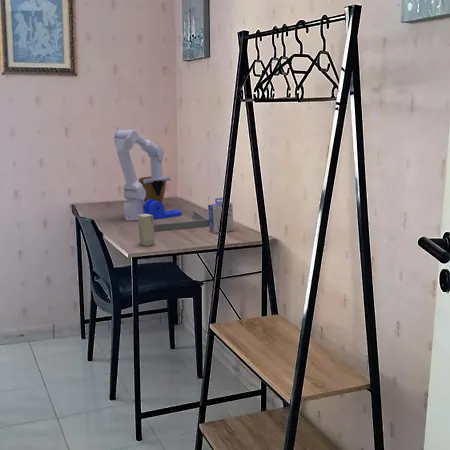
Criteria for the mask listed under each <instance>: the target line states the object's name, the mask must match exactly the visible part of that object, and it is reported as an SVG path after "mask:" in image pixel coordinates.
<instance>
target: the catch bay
mask: <svg viewBox="0 0 450 450" xmlns="http://www.w3.org/2000/svg"><path fill="white" fill-rule="evenodd" d="M192 213H193V216H192V217H193V218H194V219H196V220H188V221H187V220H186V221H178V222H167V223H157V224H155V223H154V233H157V232H163V231H164V232H165V231H176V230H186V229H194V228H205V227H206V228H208V227H209V217H207V216H205V215H203V214H202V213H200V212H198V211H197V210H195V209H194V210H193V212H192Z"/></svg>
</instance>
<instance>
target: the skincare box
mask: <svg viewBox="0 0 450 450" xmlns="http://www.w3.org/2000/svg"><path fill="white" fill-rule="evenodd" d="M137 216H138V220H137V226H138V227H137V228H138V237H139V238H138V239H139V244H140V245H142V246H145V247H147V246H152V245H156V240H155V232H154V225H155V223H154V220H153V215H150V214H140V215H137Z"/></svg>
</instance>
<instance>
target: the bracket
mask: <svg viewBox="0 0 450 450" xmlns="http://www.w3.org/2000/svg"><path fill="white" fill-rule="evenodd" d="M143 213H144V214H150V215H153V221H154V220H155V221H156V220H161V219H163V220H164V219H168V218H169V219H170V218H176V217H181V216H182V215H183V213H182V210H178V209H170V210H165V206H164V204H163V202H162V203H161V202H159V201H155V200H152V199H149V200H147V201H146V202H144V203H143Z"/></svg>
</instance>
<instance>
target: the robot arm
mask: <svg viewBox="0 0 450 450" xmlns="http://www.w3.org/2000/svg"><path fill="white" fill-rule="evenodd" d="M113 142H114V144H115V148H116V149H115V150H116V153H117V157H118V160H119V163H120V166H121V170H122V173H123V177H124V181H125V184H124V185H123V197H124V198H125V200H126V201H123V215H124V218H123V219H125V221H126V222H128V221H138V216H137V215H140V214H144V199H145V197H146V191H145V189H144V188H143V185H142V184H141V183H140V182H139V180H138V179H137V174H136V172H135V171H136V170H135V168H134V164H133V160H132V158H131V155H130V151H131V150H132V149H133V148H134V145H138V146H140V149H141V150H143V151H144V152H145V153H146V154H147V156H148V157H149V158H150V172H151V174H150V175H151V176H150V177H152V178H149V179H143V181H144V183H151V184H152V186H153V188H154V190H155V193H156V196H160V193H161V189H162V186H163V184H164V182H163V181H166V182H169V181H172V177H171V176H163V159H164V158H163V157H164V153H165V152H164V148H163V147H162V146H161V145H156V143H153V142H152V140H151V139H144V138H143V137H142V136H141V135H140V134H138V131H136V130H135V129H116V130H115V132H114V135H113ZM156 180H159V181H156Z"/></svg>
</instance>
